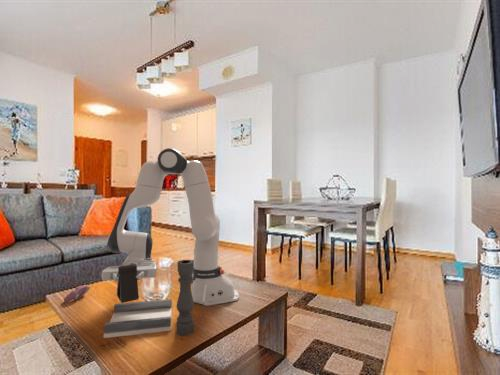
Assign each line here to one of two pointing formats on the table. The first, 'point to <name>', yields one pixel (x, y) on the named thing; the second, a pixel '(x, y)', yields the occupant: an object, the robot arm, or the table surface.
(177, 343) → the table surface
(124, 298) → the phone stand
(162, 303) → the track rails
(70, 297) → the video game controller
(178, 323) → the candle holder
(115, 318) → the track base
